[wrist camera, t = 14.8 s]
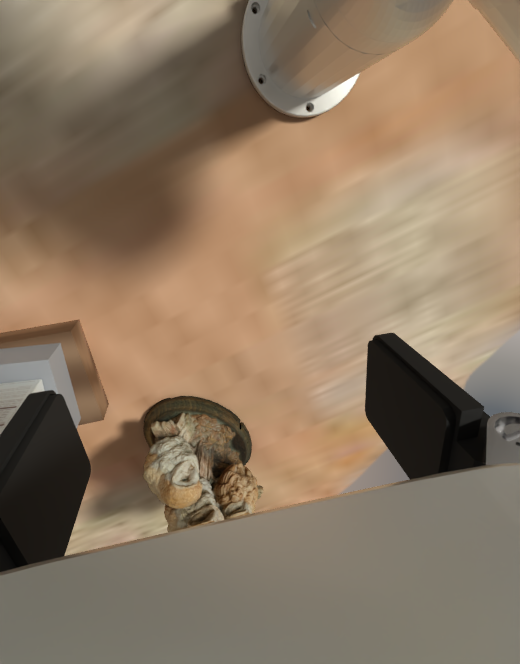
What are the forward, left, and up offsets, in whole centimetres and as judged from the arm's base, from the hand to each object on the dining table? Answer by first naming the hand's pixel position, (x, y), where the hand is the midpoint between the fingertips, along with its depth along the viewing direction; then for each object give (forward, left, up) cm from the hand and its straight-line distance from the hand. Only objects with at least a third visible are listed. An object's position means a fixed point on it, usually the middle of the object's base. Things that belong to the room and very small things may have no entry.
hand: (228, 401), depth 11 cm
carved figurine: (+28, -4, -34) cm, 44 cm away
